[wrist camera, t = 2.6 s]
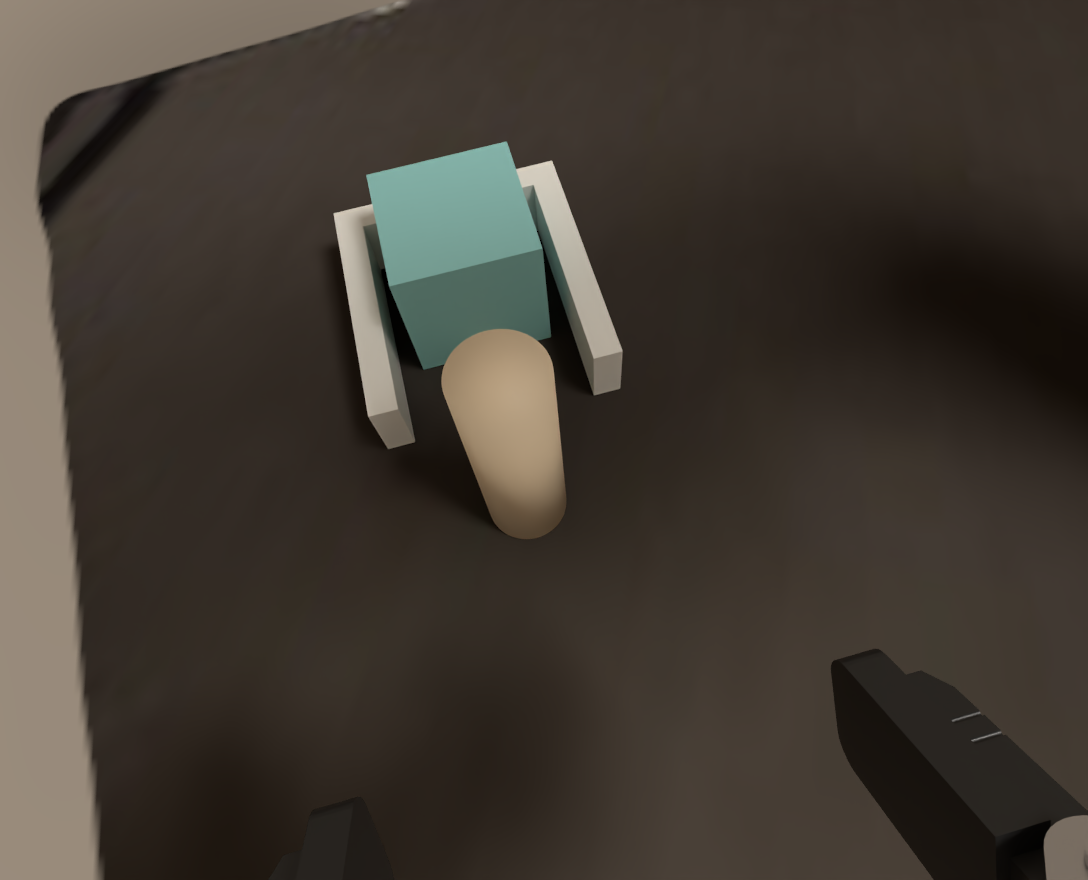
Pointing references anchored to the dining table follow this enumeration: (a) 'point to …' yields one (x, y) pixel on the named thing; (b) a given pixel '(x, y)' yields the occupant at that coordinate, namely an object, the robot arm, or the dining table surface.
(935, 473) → the dining table surface
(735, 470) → the dining table surface
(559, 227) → the cream u-shaped frame
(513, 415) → the tethered block
